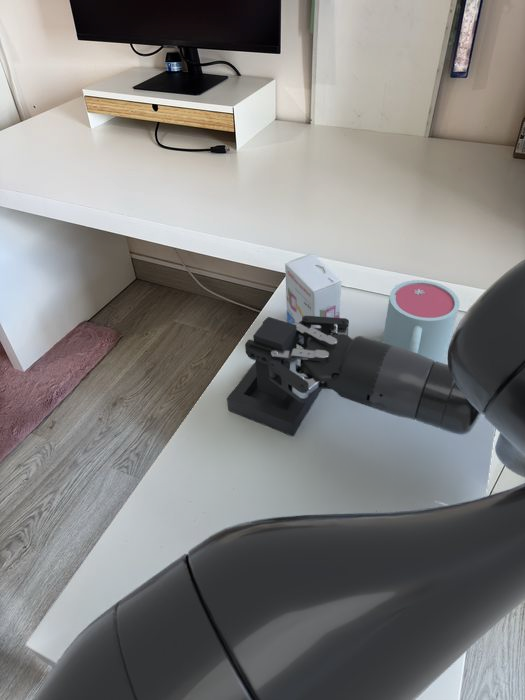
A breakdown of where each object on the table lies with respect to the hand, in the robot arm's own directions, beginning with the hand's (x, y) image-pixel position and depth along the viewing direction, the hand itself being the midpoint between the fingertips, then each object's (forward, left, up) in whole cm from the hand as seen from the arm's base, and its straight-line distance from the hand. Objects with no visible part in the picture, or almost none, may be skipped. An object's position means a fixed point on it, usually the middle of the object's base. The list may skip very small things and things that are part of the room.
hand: (256, 336), depth 64 cm
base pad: (0, -3, -11) cm, 11 cm away
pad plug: (0, -3, -8) cm, 8 cm away
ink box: (+15, -1, -11) cm, 18 cm away
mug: (+15, -17, -11) cm, 25 cm away
